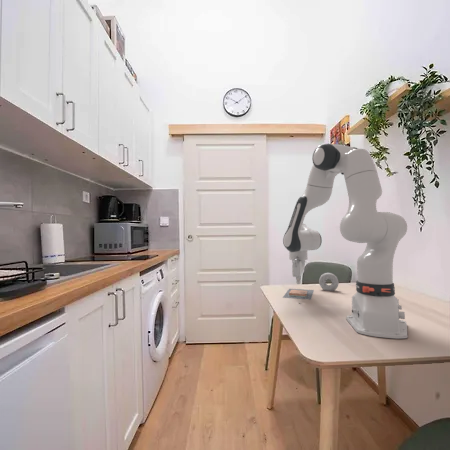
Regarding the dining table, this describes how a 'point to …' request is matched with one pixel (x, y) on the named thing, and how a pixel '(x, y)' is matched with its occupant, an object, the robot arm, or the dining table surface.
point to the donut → (331, 277)
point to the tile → (298, 293)
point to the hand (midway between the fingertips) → (298, 283)
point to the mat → (309, 296)
